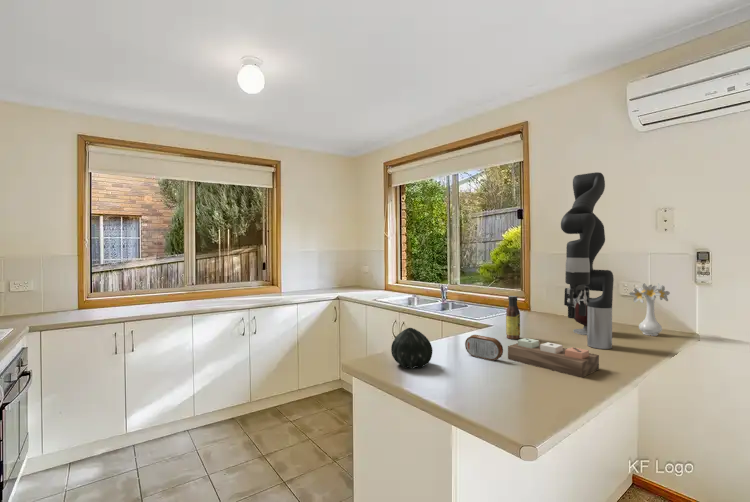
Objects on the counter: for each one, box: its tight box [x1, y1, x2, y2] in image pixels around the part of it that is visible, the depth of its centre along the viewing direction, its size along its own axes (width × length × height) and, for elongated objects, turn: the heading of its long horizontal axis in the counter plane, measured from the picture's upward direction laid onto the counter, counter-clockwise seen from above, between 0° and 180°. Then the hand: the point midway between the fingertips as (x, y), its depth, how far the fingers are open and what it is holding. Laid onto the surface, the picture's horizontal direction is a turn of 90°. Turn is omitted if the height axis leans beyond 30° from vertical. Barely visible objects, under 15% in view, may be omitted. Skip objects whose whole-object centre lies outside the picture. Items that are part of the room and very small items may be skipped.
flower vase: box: [629, 283, 671, 337], centre depth 185 cm, size 13×18×25 cm
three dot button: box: [565, 346, 590, 359], centre depth 133 cm, size 6×6×4 cm
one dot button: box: [540, 341, 564, 354], centre depth 140 cm, size 6×6×4 cm
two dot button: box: [517, 337, 540, 348], centre depth 147 cm, size 6×6×4 cm
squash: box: [390, 327, 434, 369], centre depth 138 cm, size 14×15×15 cm
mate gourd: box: [572, 297, 593, 336], centre depth 190 cm, size 16×14×20 cm
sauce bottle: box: [505, 295, 521, 340], centre depth 179 cm, size 7×6×20 cm
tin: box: [464, 334, 504, 361], centre depth 147 cm, size 15×3×8 cm, turn 47°
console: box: [507, 342, 600, 379], centre depth 140 cm, size 14×27×5 cm, turn 39°
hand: (577, 316), depth 133 cm, fingers open, 8 cm apart
